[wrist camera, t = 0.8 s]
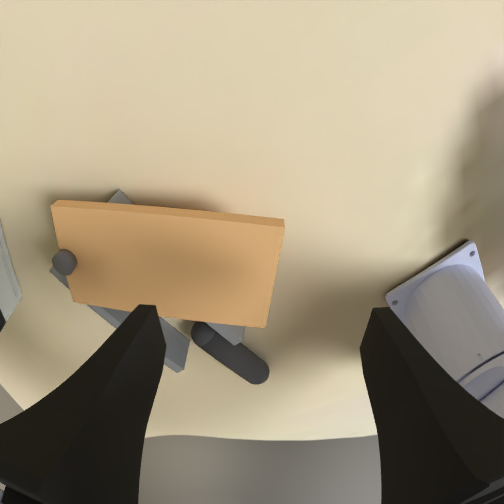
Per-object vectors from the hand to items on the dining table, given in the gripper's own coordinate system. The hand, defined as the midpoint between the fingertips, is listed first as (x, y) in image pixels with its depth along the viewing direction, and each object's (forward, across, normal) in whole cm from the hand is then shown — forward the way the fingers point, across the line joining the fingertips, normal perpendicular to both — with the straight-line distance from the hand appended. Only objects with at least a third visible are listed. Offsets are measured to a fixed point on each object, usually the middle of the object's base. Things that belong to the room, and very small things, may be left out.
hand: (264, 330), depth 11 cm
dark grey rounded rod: (+10, +2, +12) cm, 16 cm away
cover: (+6, +6, +2) cm, 9 cm away
